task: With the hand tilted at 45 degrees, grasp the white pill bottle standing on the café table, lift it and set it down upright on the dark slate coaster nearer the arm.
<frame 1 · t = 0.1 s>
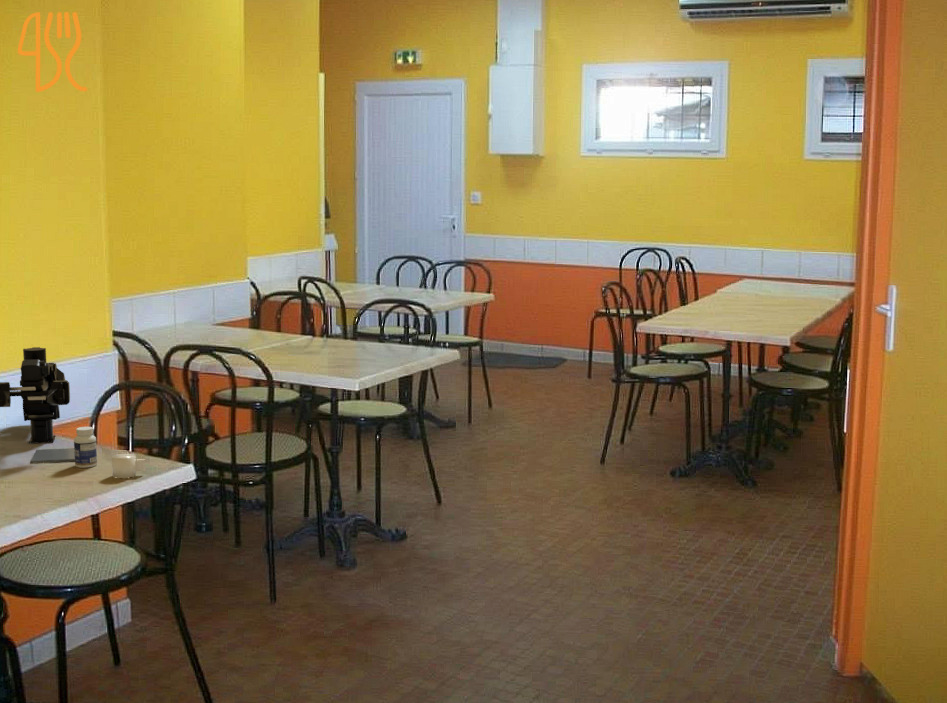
hand: (27, 400, 299), 17 cm above the table, tool horizontal, fingers open, 9 cm apart
espresso cup: (124, 476, 291), on the table
slate coaster: (57, 456, 309), on the table
pill bottle: (86, 466, 300), on the table
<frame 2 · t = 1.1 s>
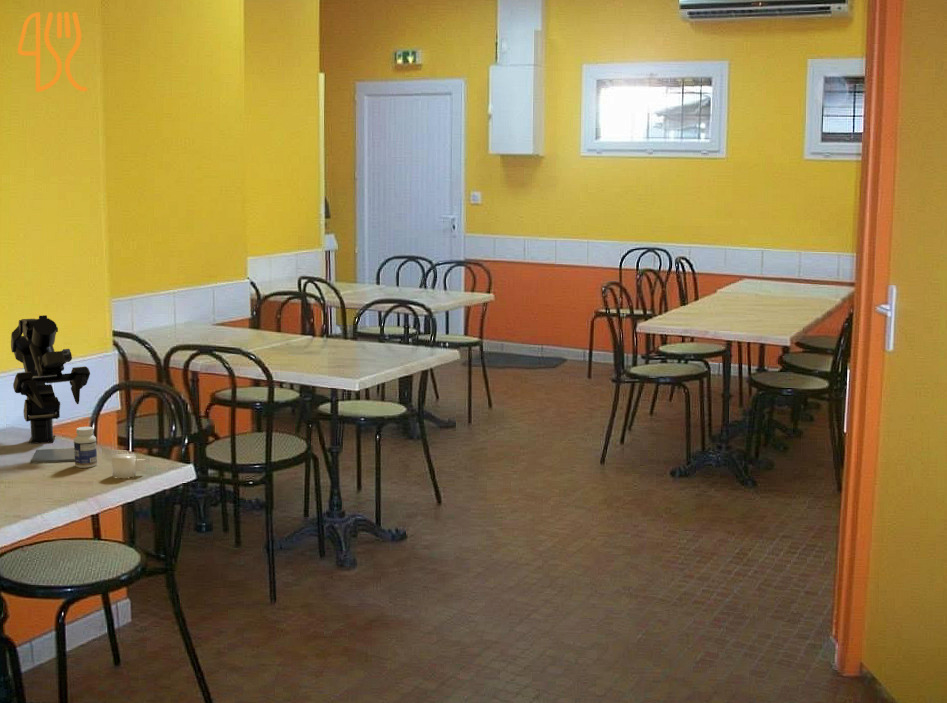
hand: (60, 405, 306), 14 cm above the table, tool tilted 45°, fingers open, 9 cm apart
nothing on the table moved.
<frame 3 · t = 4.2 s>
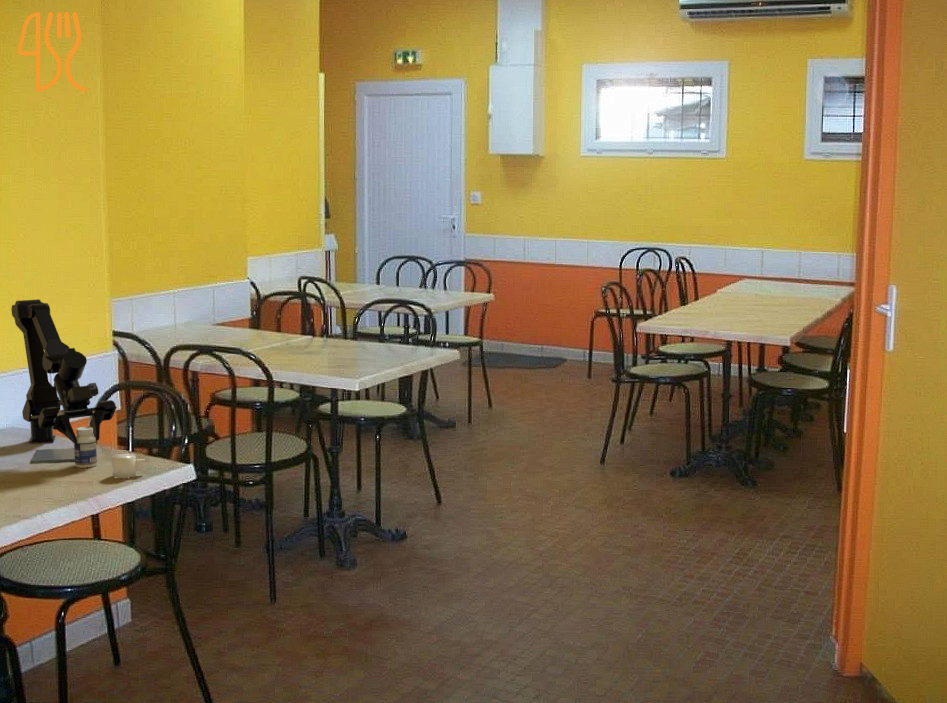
hand: (87, 441, 298), 7 cm above the table, tool tilted 45°, fingers closed on pill bottle, 5 cm apart
pill bottle: (86, 466, 300), on the table, touching gripper
everything else where it was.
when the fingers open (8 cm above the table, at t = 7.4 s): pill bottle drops 1 cm, resting on slate coaster.
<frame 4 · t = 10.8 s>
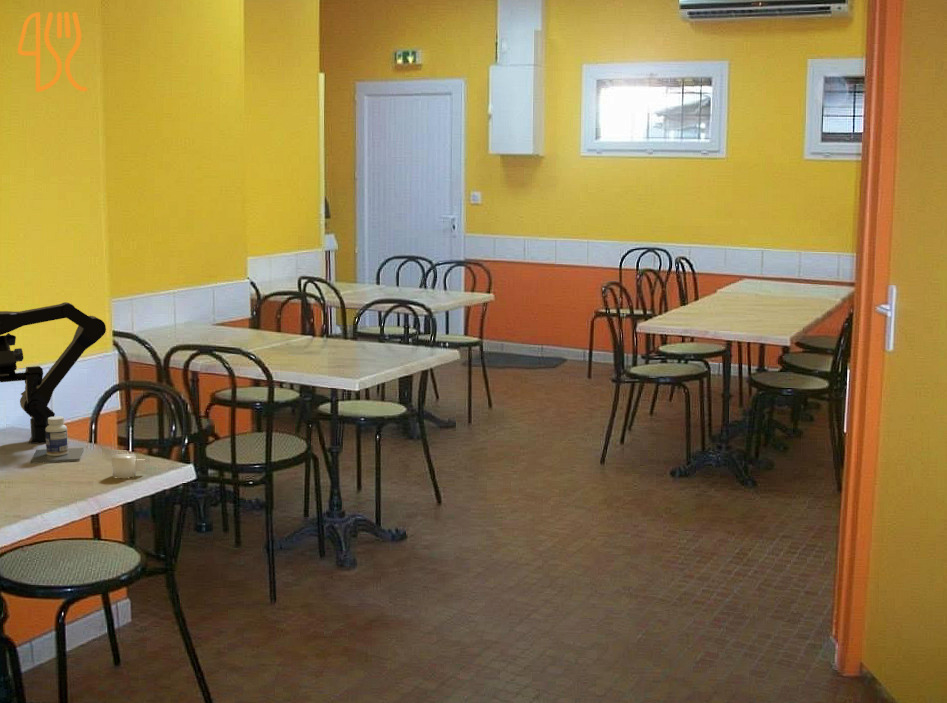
hand: (10, 404, 308), 14 cm above the table, tool tilted 45°, fingers open, 9 cm apart
pill bottle: (57, 454, 309), resting on slate coaster
everything else where it was.
at the end: pill bottle inside the target area on the slate coaster (0.2 cm from its centre), point 0.4 cm above the slate coaster's base; pill bottle tilted 0°; the gripper is holding nothing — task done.
